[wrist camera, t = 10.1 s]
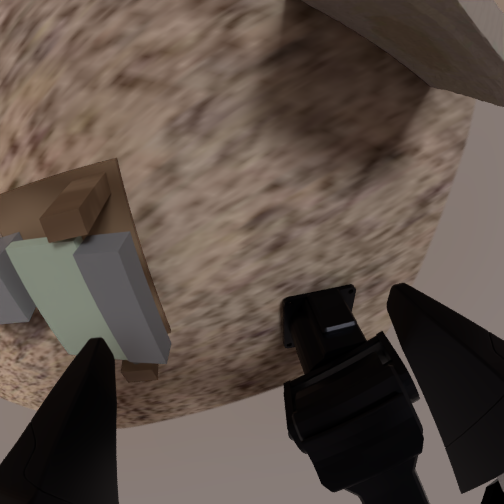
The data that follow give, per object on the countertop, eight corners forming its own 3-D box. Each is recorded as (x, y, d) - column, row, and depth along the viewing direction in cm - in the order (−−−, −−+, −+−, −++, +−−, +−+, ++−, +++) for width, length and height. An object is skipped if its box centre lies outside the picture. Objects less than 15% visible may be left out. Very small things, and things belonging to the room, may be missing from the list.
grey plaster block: (444, 52, 15) (549, 74, 7) (430, 88, 17) (535, 123, 9) (306, -43, 11) (394, -102, 3) (285, -3, 12) (369, -54, 5)
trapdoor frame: (170, 329, 25) (170, 383, 20) (64, 340, 24) (52, 387, 19) (116, 157, 16) (89, 193, 12) (-10, 198, 15) (-50, 238, 11)
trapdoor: (173, 347, 20) (168, 368, 19) (74, 341, 21) (66, 358, 19) (127, 223, 14) (114, 242, 13) (15, 237, 15) (0, 253, 13)
